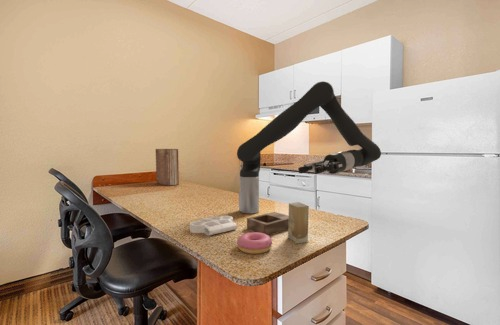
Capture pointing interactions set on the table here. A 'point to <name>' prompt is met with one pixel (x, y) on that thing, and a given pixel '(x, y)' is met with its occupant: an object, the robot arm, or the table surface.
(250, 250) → the doughnut
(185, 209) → the table surface
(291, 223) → the skincare box
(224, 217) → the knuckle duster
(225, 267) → the table surface
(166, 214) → the table surface
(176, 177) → the brown wooden block
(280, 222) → the walnut holder
